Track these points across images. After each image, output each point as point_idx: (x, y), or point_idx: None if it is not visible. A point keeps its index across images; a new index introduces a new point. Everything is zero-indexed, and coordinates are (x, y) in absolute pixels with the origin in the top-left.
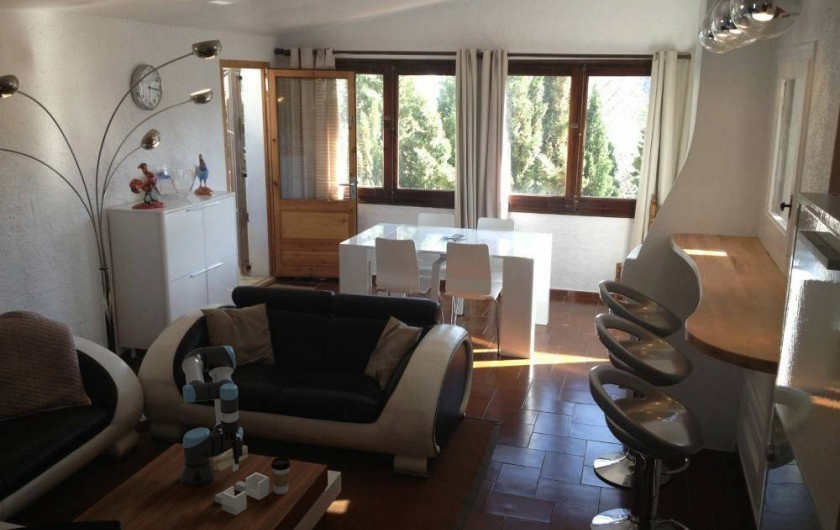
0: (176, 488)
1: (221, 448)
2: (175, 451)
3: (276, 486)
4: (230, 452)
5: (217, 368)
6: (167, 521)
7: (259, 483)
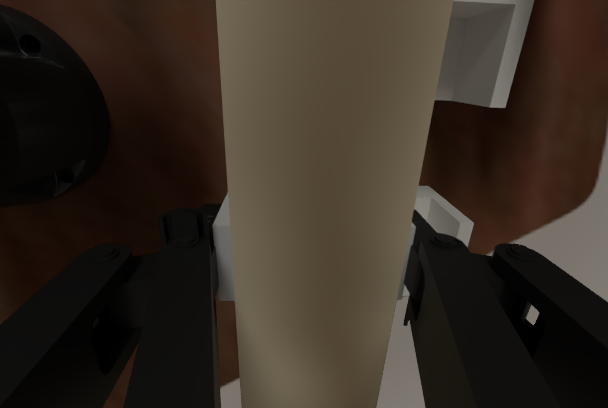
0: (36, 232)
1: (130, 335)
2: None
3: None
4: (318, 295)
5: None
6: (231, 377)
7: (505, 104)
